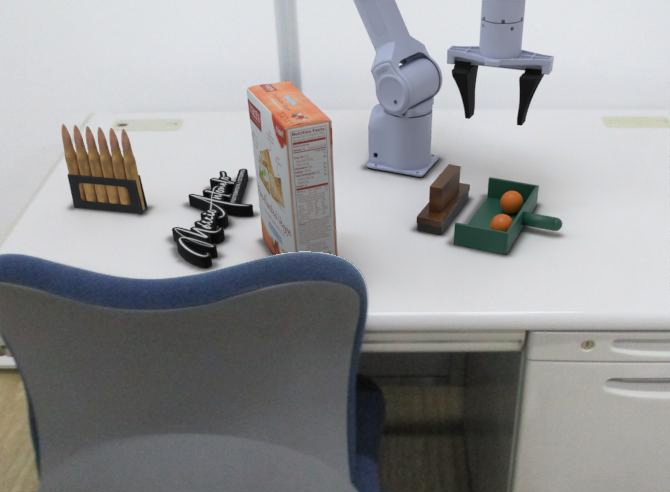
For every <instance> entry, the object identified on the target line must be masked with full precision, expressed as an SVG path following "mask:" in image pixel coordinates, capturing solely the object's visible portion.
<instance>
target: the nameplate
mask: <svg viewBox="0 0 670 492" xmlns="http://www.w3.org/2000/svg"><path fill="white" fill-rule="evenodd" d="M248 182H249V171H248V169H247V168H240V169H238V172H237V175H236V178H235V181H233V180H232V177H231V176H228V172H226V171H225V170H220V171H219V177H218V178H216V177H212V178H210V179H209V184H210V189H209V188H206V189H203V190H202V195H201V194H195V193H190V194H188V203H189V206H190V207H192V208H194V209H197V210H200V211H202V212H201V213H200V220H196V221H194V226H191V227H190V228H189V229H188V228H184V227H179V226H174V227H171V233H172V238H173V241H174V242H175V244H176V247H177V248H176V249H177V252H178V254H179V256H180V257H181V258H182V259H183V260H184V261H186V262H187V263H189V264H190V265H193V266H194V267H197V268H200V269H210V268H212V267H213V259H217V258H218V256H219V255H218V249H217V248H218V247H217V245H218V244H222V242H224V241H225V239H226V237H225V230H224V229H225V228H227V227H228V226H229V224H230V223H229V216H231V217H239V218H240V217H241V218H242V217H243V218H247V217H248V218H249V217H253V216H254V207H253V206H254V205H253V204H252V203H242V202H243V199H244V196H245V193H246V189H247V186H248Z"/></svg>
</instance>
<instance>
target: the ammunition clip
mask: <svg viewBox="0 0 670 492" xmlns="http://www.w3.org/2000/svg"><path fill="white" fill-rule="evenodd" d="M60 132H61V139H62V144H63V150H64V160H65V163H66V167H67V171H68V173H67V180H68V184H69V189H70V194H71V199H72V204H73V207H74V209H84V210H93V211H106V212H114V213H115V212H116V213H124V214H125V213H127V214H133V215H134V214H135V215H143V214H144V213H145V212H146V211H147V209H149V207H148V203H147V199H146V195H145V191H144V186H143V182H142V178H141V175H140V174H139V171H138V166H137V161H136V157H135V156H134V152H133V149H132V145H131V140H130V137H129V135H128V133H127V131H126V130H125V129H124V128H122V129H121V134H120V135H121V136H120V137H121V138H120V139H121V140H120V142H119V139H118V137H117V134H116V132H115V131H114V129H113V128H112V127H110V129H109V133H108V135H109V136H108V140H109V146H110V149H109V146H108V141H107V138H106V135H105V133H104V130H103V129H102V128H101V127H100V126H98V127H97V132H96V133H97V134H96V135H97V143H96V139H95V136H94V133H93V131H92V130H91V128H90V126H88V125H87V126H85V142H86V145H85V142H84V139H83V136H82V133H81V131H80V129H79V127H78V126H77V125H76V124H74V125H73V131H72V133H73V140H72V136H71V134H70V132H69V130H68V128H67V126H66V125H65V124H64V123H62V124H61V131H60ZM73 141H74V144H73ZM120 143H121V147H120ZM97 144H98V146H97ZM74 145H75V146H74ZM74 147H75V148H74ZM121 148H122V151H121ZM98 150H99V151H98Z"/></svg>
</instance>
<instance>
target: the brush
mask: <svg viewBox="0 0 670 492" xmlns="http://www.w3.org/2000/svg"><path fill="white" fill-rule="evenodd" d="M461 168H462V166H461V165H457V164H450V163H449V164H448V165H446V167H445V168H444V169H443V171H441V172H440V174H439V175H438V176H437V178H435V179H434V181H433V182H432V183H431V184H430V185H429V197H428V198H429V199H428V202H427V204H426V205H425V206H424V207H423V208H422V209H421V211H420V212H419V213H418V214H417V216H416V230H417V231H420V232H426V233H430V234H435V235H443V233H444V232H445V231H446V229H447V228H448V226H450V224H451V223H452V222H453V220H454V219H455V218H456V216H457V215H458V214H459V212H460V211H461V210H462V208H463V207H464V206H465V205H466V203H468V201H469V198H470V197H469V196H470V190H471V184H470V183H469V184H468V183H464V182H461Z"/></svg>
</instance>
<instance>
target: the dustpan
mask: <svg viewBox="0 0 670 492" xmlns="http://www.w3.org/2000/svg"><path fill="white" fill-rule="evenodd" d="M539 190H540V185H539V184H532V183H527V182H521V181H515V180H511V179H510V180H509V179H503V178H497V177H492V176H489V177H488V185H487V195H486V198H485V200H484V201H483V202H482V204H480V206H479V208H478V209H477V210H476V211H475V213H474V214H473V216H472V217H471V219H470V220H469V221H468V223H467V224H466V223H461V222H454V229H453V245H456V246H461V247H465V248H470V249H476V250H479V251H484V252H489V253H495V254H500V255H507V253H508V252H509V251H510V249H511V247H512V245H513V244H514V242H515V241H516V239H517V237H518V236H519V234H520V232H521V231H522V229H523V228H524V226H526V227H530V228H536V229H540V230H541V229H542V230H546V231H552V232H558V231H560V230H561V229H562V228H563V221H562V219H560V218H559V217H557V216H550V215H544V214H539V213H534V212H533V211H534V209H535V208H536V207H537V205H538V197H539ZM508 191H516V192H518V193H519V194H520V195H521V196H522V198H523V206H522V208H521V209H520V210H519V211H518V212H517V213H514V214H509V213H506V212H505V211H503V209H502V208H501V204H500V201H501V198H502V196H503V195H504V194H505V193H506V192H508ZM499 214H505V215H508V216H509V217H511V219H512V220H513V223H512V224H511V226H510V227H509V229H508V231H507V232H504V231H499V230H493V229H490V223H491V221H492V219H493V218H494V217H495V216H497V215H499Z"/></svg>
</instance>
